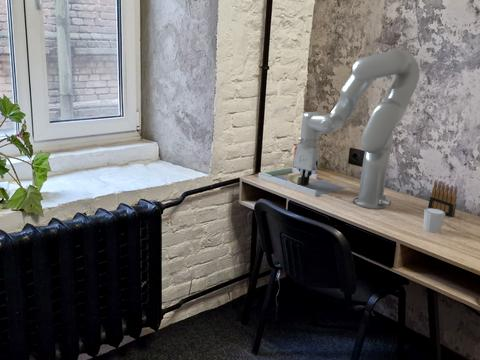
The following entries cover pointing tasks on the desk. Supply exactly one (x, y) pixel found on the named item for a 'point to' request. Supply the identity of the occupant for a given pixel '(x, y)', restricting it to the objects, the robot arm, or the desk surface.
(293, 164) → the beverage can
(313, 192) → the box
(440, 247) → the desk surface
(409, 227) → the desk surface
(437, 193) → the ammunition clip
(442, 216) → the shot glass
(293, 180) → the wooden block
